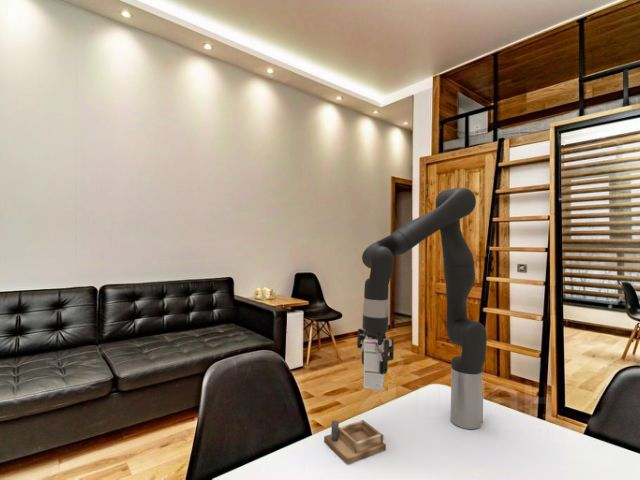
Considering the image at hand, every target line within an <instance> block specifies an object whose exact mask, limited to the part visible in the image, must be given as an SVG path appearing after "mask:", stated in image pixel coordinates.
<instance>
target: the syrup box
mask: <svg viewBox="0 0 640 480" xmlns="http://www.w3.org/2000/svg"><path fill="white" fill-rule="evenodd" d="M371 338H372V337H366V338H365V339H364V365H363V378H362V379H363V383H362V384H363V389H367V390H373V391H384V385H385V383H384V382H385V374H380V373H379V365H380V358H379V356H378V354H377V353H376V351H375V343H376V344H377V345H378V341H377V339H371ZM374 342H375V343H374ZM383 344H384V342H382V344H381V345H378V348H379V349H380V350H381V349H382V350H384V345H383ZM382 355H383V357H384V352H382Z"/></svg>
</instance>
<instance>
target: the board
mask: <svg viewBox="0 0 640 480" xmlns="http://www.w3.org/2000/svg"><path fill="white" fill-rule="evenodd" d="M339 423H340V422H339V420H336V419H335V420H332V421H331V434H328V435H325V436H324V437H323V442H324V443H325V445H326V446H328V447H329V448H330V449H331V450H332V451H333V452H334V453H335V454H336V455H337V456H338V457H339V458H340V459H341V460H343V462H344V463H345V464H347V465H350V464H353V463H355V462H358V461H360V460H365V459H366V458H369V457H371V456H375V455H377V454H381V453H382V452H385V451H386V450H387V444H386V443H384V434H383V433H381V432H380V431H378V430H377V429H376V428H374V427H373V426H372V425H370V424H369V423H368V422H367V421H365V420H364V419H362V420H359V421H356V422H352V423H349V424H346V425H342V426H340V427H339Z"/></svg>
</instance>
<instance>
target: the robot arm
mask: <svg viewBox="0 0 640 480" xmlns="http://www.w3.org/2000/svg"><path fill="white" fill-rule="evenodd" d="M476 203H477V198H476V195H475V193H474V192H473V191H472V190H471V189H469V188H465V187H455V188H449V189H443V190H441V191H440V192H439V193H438V195H437V196H436V198H435V209H433V210H431V211H429V212H427V213H425V214H423V215H421V216H419V217H417V218H414V219H412V220H410V221H409V222H407V223H405V224H404V225H402V226H401V227H399V228H397V229H396V230H395V231H393V232H392V233H391V234H389V235H388V236H385V237H383V238H381V239H379V240H377V241H375V242H374V243H372V244H370V245H369V246H368V247H366V248H365V249H364V251H363V253H362V255H361V261H362V263H363V264H364V266H365V267H367V268H368V269H370V271H369V272H370V273H369V276H368V277H369V278H367V279H366V280H365V281H364V290H363V291H364V292H363V293H364V294H363V295H364V296H363V303H362V323H361V324H362V327H361V328H358V329H357V342H356V343H357V344H356V346H357V349H360V352H361V364H362V365H363V366H364V339H365V338H366V337H372V338H371V339H377V341H378V345H381V344H382V342H384V344H383V345H384V350H382V349H381V350H380V349H379V348H378V345H377V344H376V343H375V342H374V343H375V351H376V353H377V354H378V356H379V358H380V365H379V373H380V374H384V375H386V374H387V373H388V367H389V366H388V365H389V364H388V363H389V361H393V360H394V357H395V354H394V352H395V351H394V350H395V348H394V346H395V342H394V339H393V338H387V336H386V332H387V331H388V330H389V318H390V317H389V314H390V313H389V312H390V311H389V310H390V307H389V306H390V305H389V284H390V281H391V277H392V273H393V270H394V263H395V262H394V260H395V259H394V257H395V256H399V255H404V254H405V253H407V252H408V251H410V250H411V249H413V248H415V247H416V246H417V245H418V244H420V243H421V242H423V241H424V240H425V239H427V238H428V237H430V236H431V235H434V234H435V233H437V232H438V231H439V232H440V240H441V247H442V248H441V251H442V260H443V261H442V262H443V272H444V273H443V275H444V280H445V281H444V282H445V296H446V335H447V337H448V340H449V341H450V342H451V343H452V344H454V345H456V346H459V347H461V355H457V356H453V357H452V359H451V368H450V369H451V370H450V371H451V372H450V375H451V376H450V413H449V415H450V421H451V423H452V424H454V425H455V426H457V427H460V428H461V429H465V430H477V429H479V428H481V426H482V423H483V422H484V421H483V420H484V393H483V367H484V364H485V362H486V356H487V355H486V353H487V340H488V339H487V338H488V337H487V335H488V334H487V329H486V326H484V324H482V323H481V322H478V321H476V320H474V319H470V318H468V313H467V301H468V297H469V295H470V294H471V291H472V289H473V287H474V285H475V281H476V271H475V270H476V269H475V259H474V256H473V253H472V250H471V249H470V247H469V245H468V244H467V242H466V240H465V238H464V236H463V234H462V229H461V221H460V220H461V219H462V218H465V217H467V216H468V215H471V213H472V212H474V209H476ZM382 352H384V357H383V355H382Z"/></svg>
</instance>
